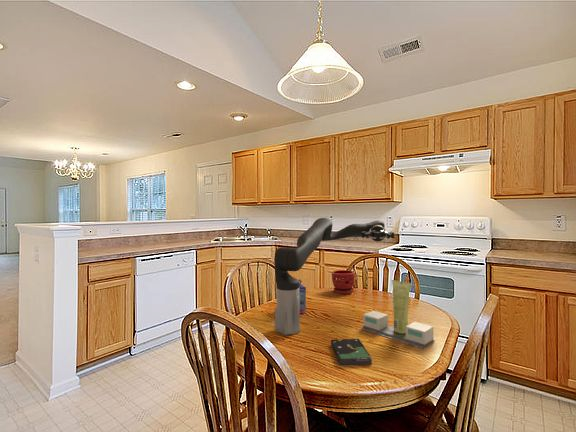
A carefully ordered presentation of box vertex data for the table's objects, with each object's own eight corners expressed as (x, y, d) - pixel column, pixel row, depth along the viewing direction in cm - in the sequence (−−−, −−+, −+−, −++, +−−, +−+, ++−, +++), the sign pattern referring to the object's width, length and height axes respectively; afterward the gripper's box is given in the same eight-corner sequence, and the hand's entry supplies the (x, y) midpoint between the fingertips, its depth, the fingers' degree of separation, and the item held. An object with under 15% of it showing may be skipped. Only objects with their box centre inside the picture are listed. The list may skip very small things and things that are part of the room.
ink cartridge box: (306, 313, 147) (306, 282, 147) (295, 314, 146) (294, 283, 145) (300, 306, 157) (299, 277, 156) (289, 307, 155) (289, 278, 155)
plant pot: (358, 290, 185) (357, 270, 185) (349, 296, 174) (349, 274, 174) (337, 288, 192) (337, 268, 192) (328, 293, 181) (328, 272, 181)
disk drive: (330, 347, 113) (339, 367, 98) (330, 339, 113) (339, 358, 98) (358, 345, 113) (372, 365, 99) (358, 338, 113) (372, 356, 98)
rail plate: (422, 349, 109) (422, 346, 109) (361, 329, 127) (361, 326, 127) (435, 340, 116) (435, 337, 116) (375, 322, 134) (375, 320, 134)
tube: (406, 329, 124) (406, 279, 123) (410, 334, 119) (410, 282, 118) (392, 328, 124) (391, 279, 124) (395, 334, 119) (395, 282, 119)
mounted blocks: (424, 344, 110) (424, 332, 110) (363, 325, 128) (363, 314, 128) (433, 338, 115) (433, 326, 115) (372, 321, 133) (372, 310, 133)
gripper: (362, 225, 156) (361, 227, 141) (393, 225, 152) (395, 227, 137) (362, 240, 157) (361, 244, 141) (393, 240, 153) (395, 245, 137)
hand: (377, 236), depth 139 cm, fingers open, 8 cm apart
